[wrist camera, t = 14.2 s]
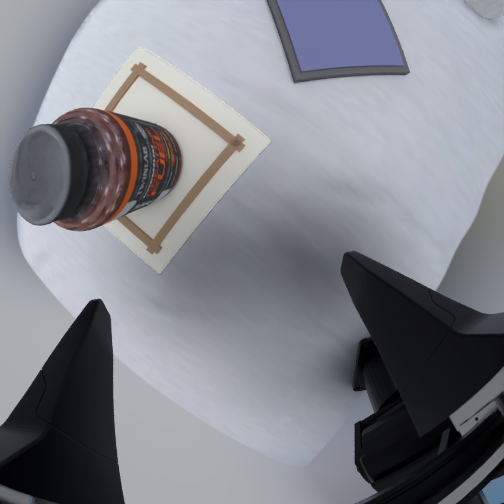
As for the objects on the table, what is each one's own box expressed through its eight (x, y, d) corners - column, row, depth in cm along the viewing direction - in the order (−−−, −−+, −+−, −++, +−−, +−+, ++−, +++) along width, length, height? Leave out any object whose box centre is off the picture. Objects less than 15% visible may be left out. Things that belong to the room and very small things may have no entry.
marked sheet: (271, 140, 18) (271, 140, 17) (160, 273, 21) (158, 276, 21) (140, 45, 16) (138, 43, 15) (55, 176, 19) (51, 177, 19)
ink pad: (406, 74, 15) (411, 71, 14) (294, 82, 16) (296, 78, 15) (369, -15, 13) (372, -20, 12) (262, -11, 14) (262, -18, 13)
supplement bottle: (192, 193, 19) (108, 239, 8) (121, 211, 20) (14, 263, 9) (176, 112, 17) (79, 73, 6) (106, 137, 18) (-11, 137, 7)
